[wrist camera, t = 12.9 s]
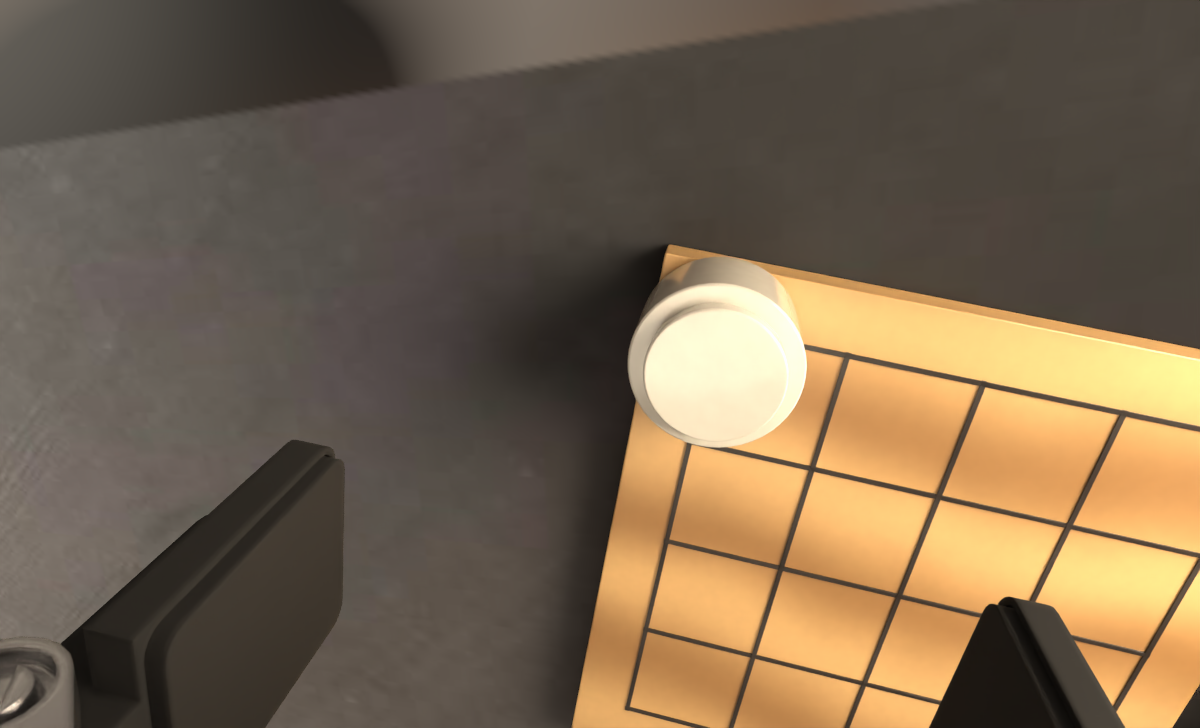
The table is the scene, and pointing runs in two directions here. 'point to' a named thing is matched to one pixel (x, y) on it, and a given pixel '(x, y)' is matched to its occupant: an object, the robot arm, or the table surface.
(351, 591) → the table surface
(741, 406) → the tan tin with lid
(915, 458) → the board
